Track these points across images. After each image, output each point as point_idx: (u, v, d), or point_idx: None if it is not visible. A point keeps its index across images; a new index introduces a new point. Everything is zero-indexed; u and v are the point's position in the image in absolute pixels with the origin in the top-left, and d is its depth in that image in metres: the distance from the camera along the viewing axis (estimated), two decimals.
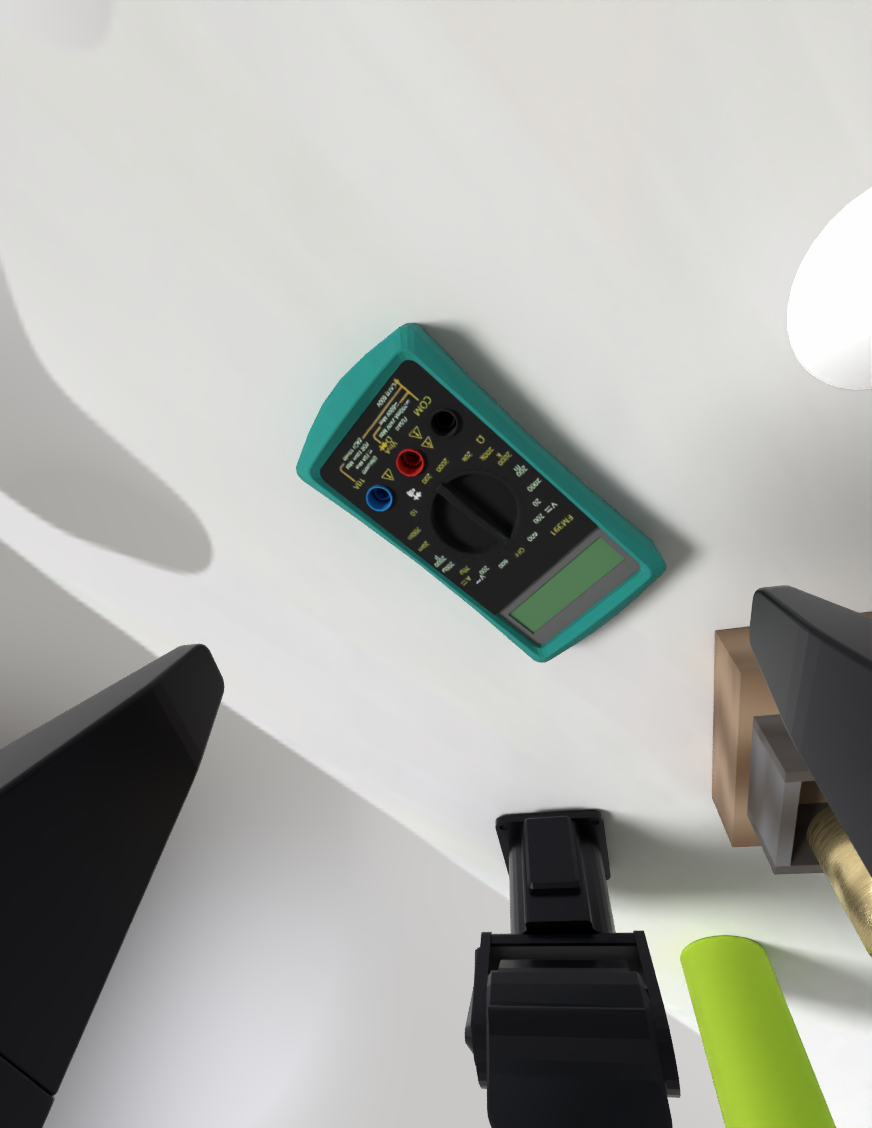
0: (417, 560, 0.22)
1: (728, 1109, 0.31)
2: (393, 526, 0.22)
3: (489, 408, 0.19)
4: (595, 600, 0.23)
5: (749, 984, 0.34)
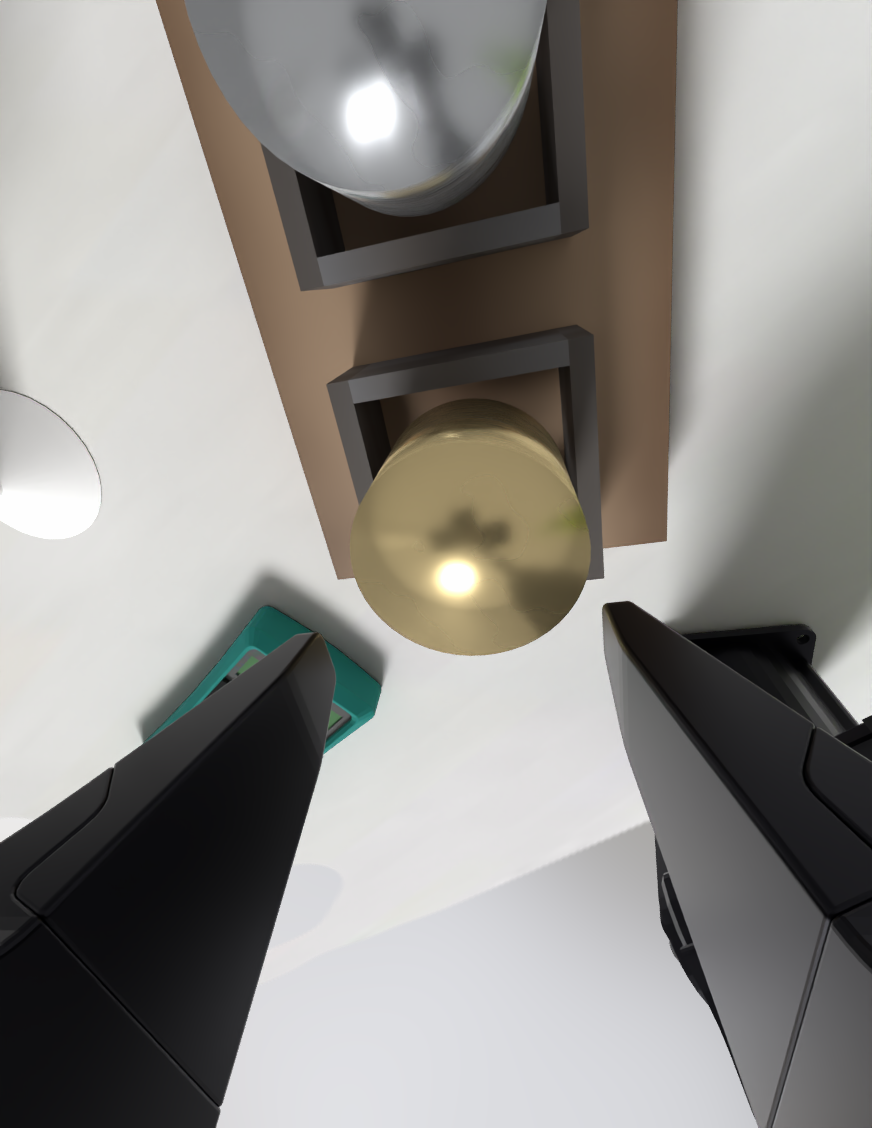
0: None
1: None
2: None
3: None
4: None
5: None
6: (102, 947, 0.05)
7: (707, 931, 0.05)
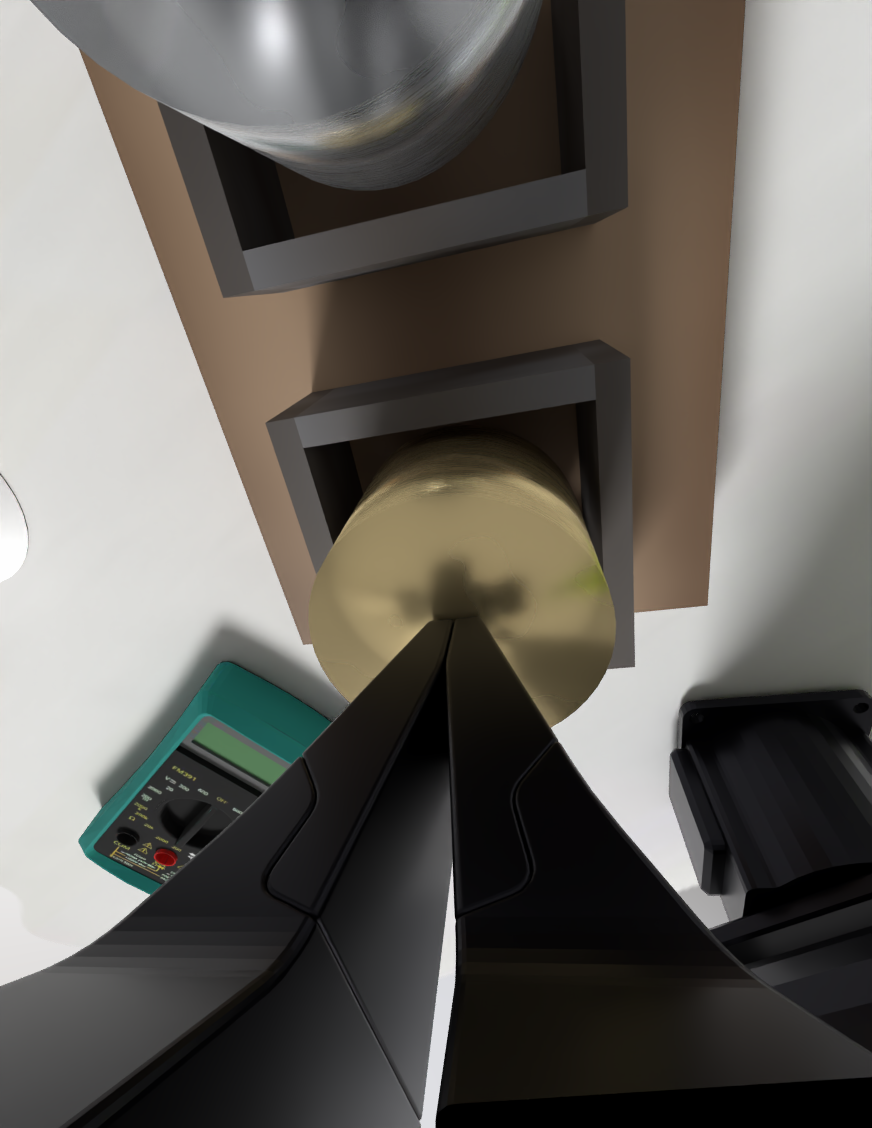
0: None
1: None
2: None
3: (110, 807, 0.24)
4: None
5: None
6: (352, 950, 0.04)
7: None
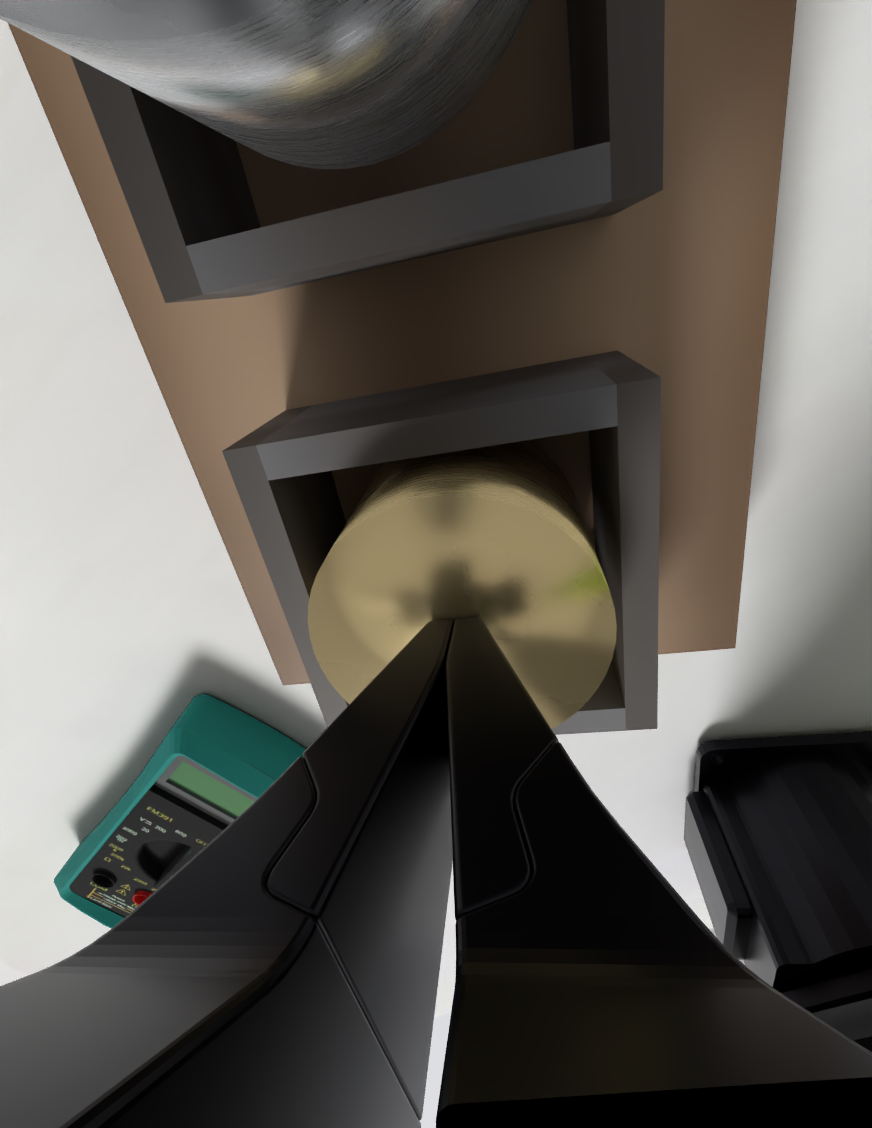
0: None
1: None
2: None
3: (85, 847, 0.22)
4: None
5: None
6: (352, 949, 0.04)
7: None
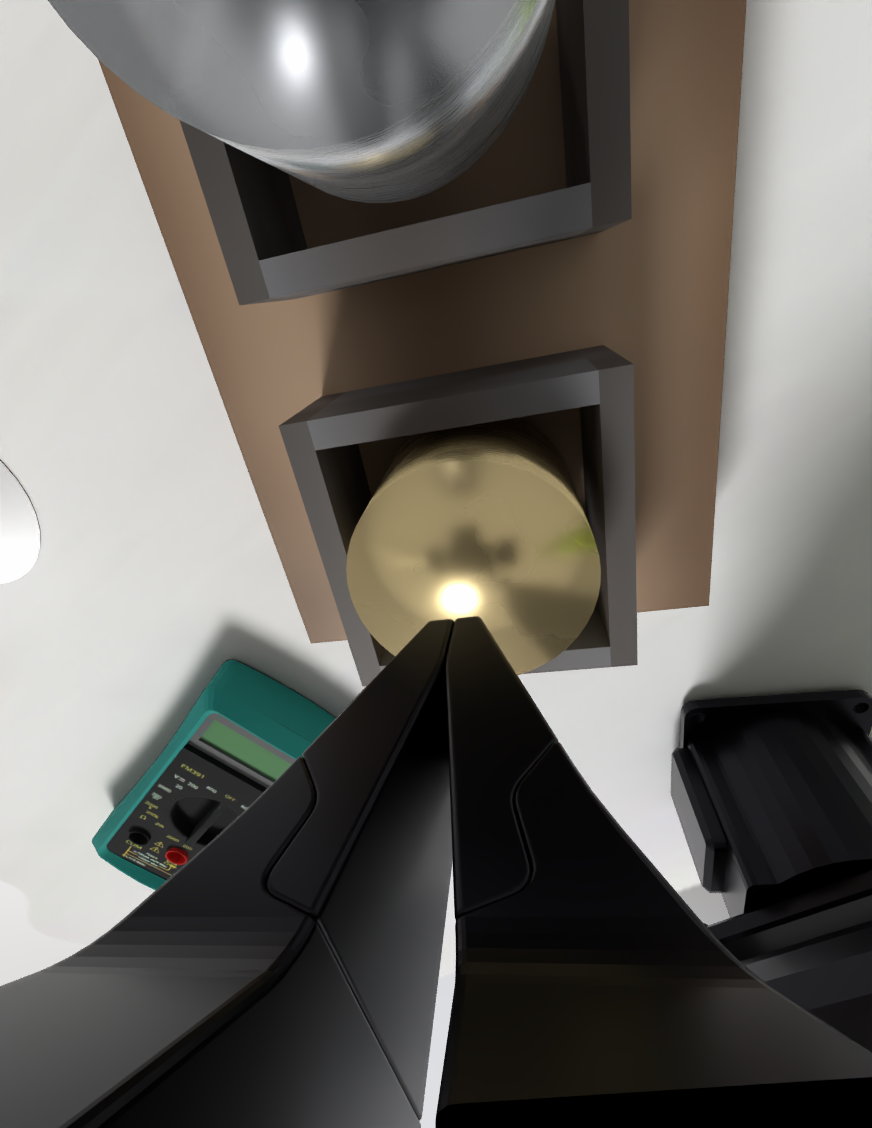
0: None
1: None
2: None
3: (122, 807, 0.24)
4: None
5: None
6: (352, 948, 0.04)
7: None
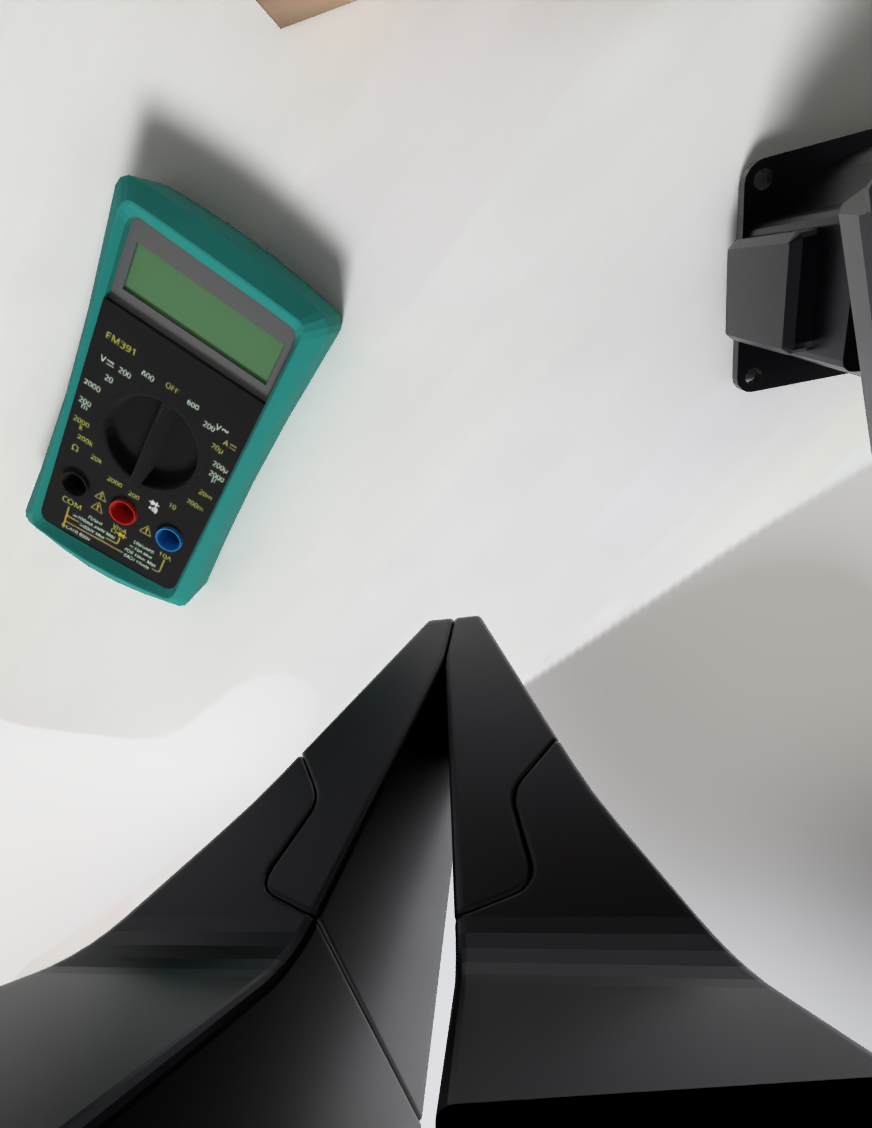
0: (222, 500, 0.20)
1: None
2: (195, 525, 0.21)
3: (50, 441, 0.20)
4: (207, 267, 0.17)
5: None
6: (352, 951, 0.04)
7: None
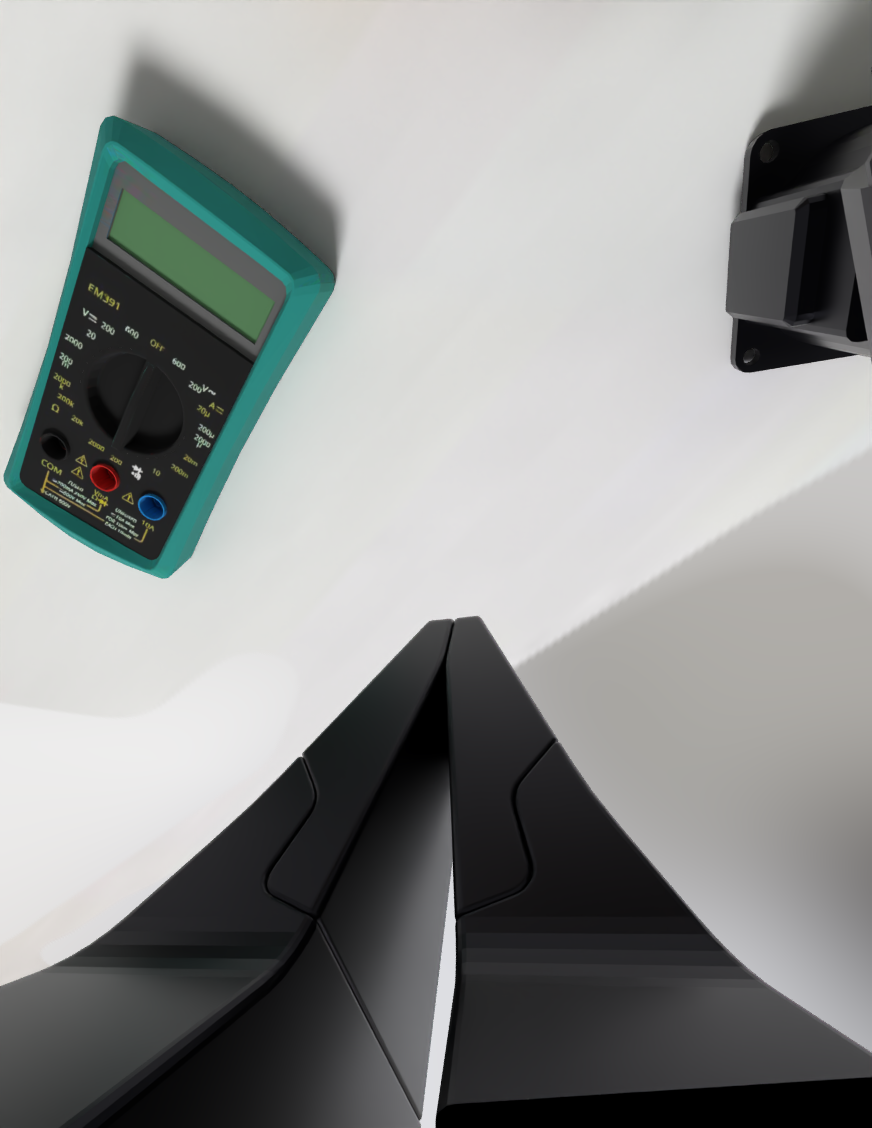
0: (208, 467, 0.19)
1: None
2: (179, 492, 0.20)
3: (30, 401, 0.19)
4: (195, 217, 0.16)
5: None
6: (352, 950, 0.04)
7: None
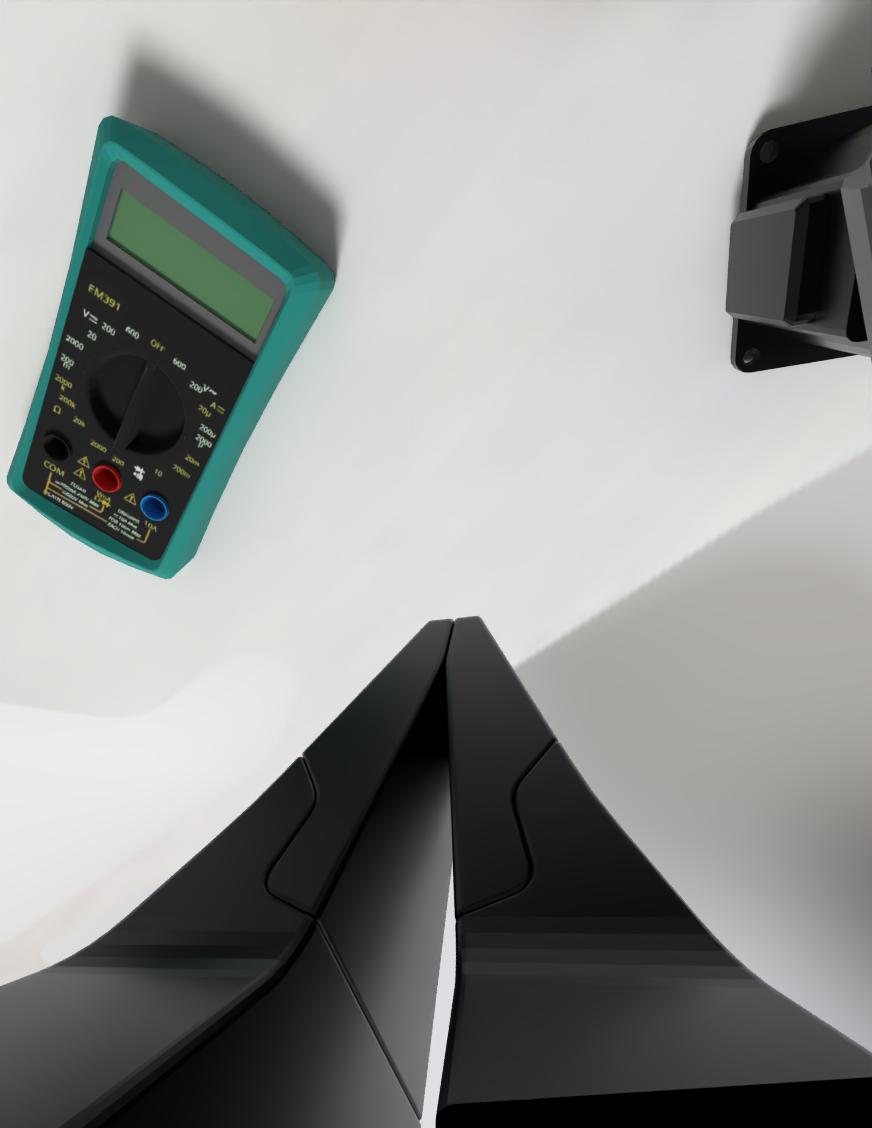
0: (210, 466, 0.19)
1: None
2: (181, 493, 0.20)
3: (32, 402, 0.19)
4: (194, 216, 0.16)
5: None
6: (352, 950, 0.04)
7: None
